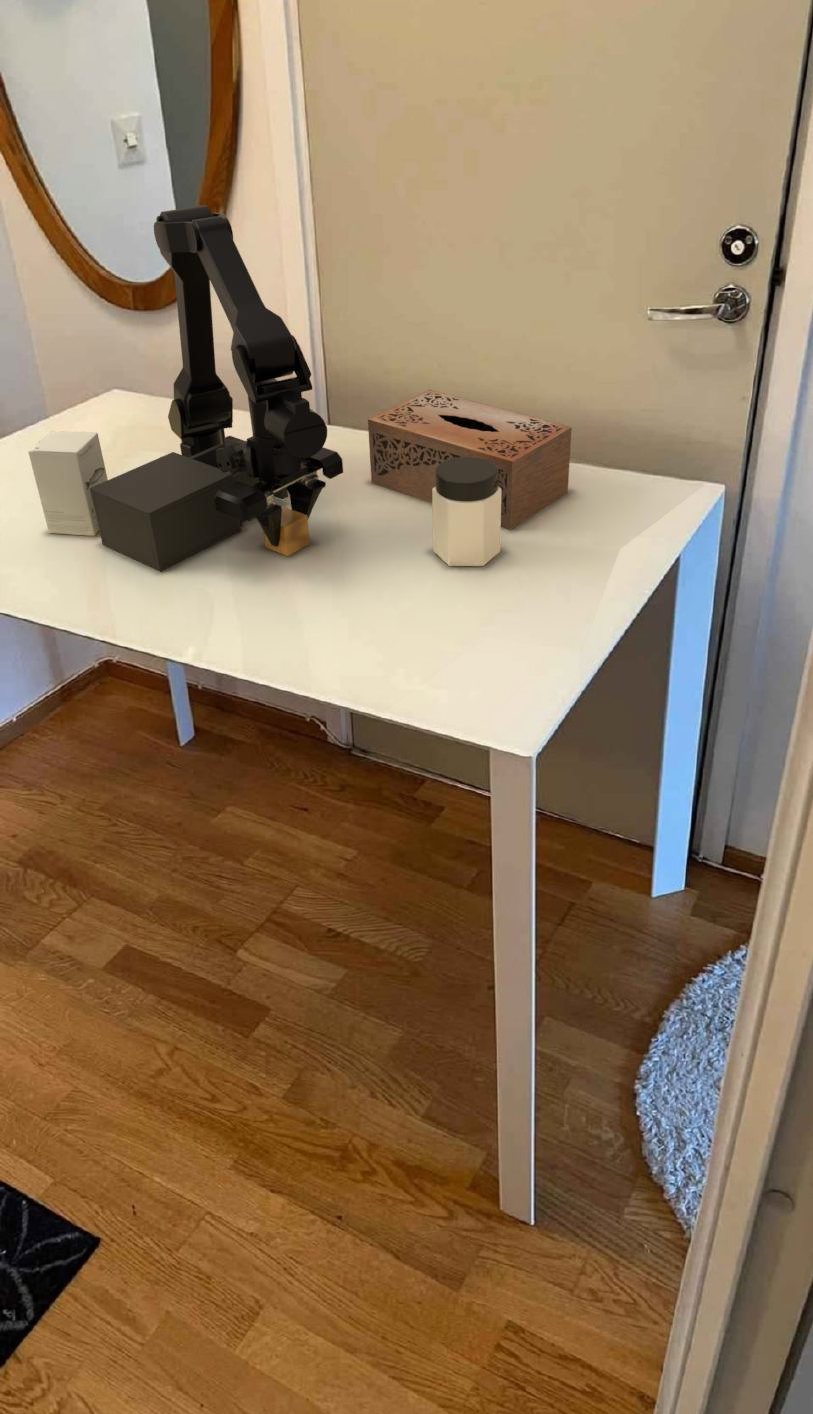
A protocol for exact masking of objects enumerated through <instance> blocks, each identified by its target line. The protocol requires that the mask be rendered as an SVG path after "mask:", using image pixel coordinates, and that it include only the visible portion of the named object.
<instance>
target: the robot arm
mask: <svg viewBox="0 0 813 1414" xmlns="http://www.w3.org/2000/svg"><path fill="white" fill-rule="evenodd" d="M153 235H154V239H155V242H156V245H157V248H158V249H159V252H160V255H161V256H162V258H163V259H164V260H165V261H166V263H167V264H168V266H169V267H170V268H171V270H172V271H173V274H174V284H175V292H176V293H175V295H176V305H177V317H178V327H179V328H178V329H179V339H180V349H181V351H180V352H181V361H182V368H181V370H180V372H179V374H178V376H177V377H176V379H174V382H173V399H172V400H171V403H170V407H169V411H168V415H167V419H168V423H169V427H170V430H171V431H172V432H173V433H174V434H175V435H176V437H178V438H179V439H180V442H181V443H180V444H179V448H180V455H183V456H186V457H188V458H189V457H191V456H193V455H196V454H198V453H200V452H202V451H205V450H207V449H209V448H211V447H214V446H216V445H218V444H224V446H223V447H221V448H219V449H216V460H217V464H218V467H219V469H220V470H221V471H222V472H231V473H232V475H235V474H237V473H239V472H246V471H247V476H248V477H251V478H255V477H257V478H259V481H260V482H258V483H256V484H254V485H253V486H250V485H247V484H244V483H242V482H239V481H236V482H234V483H232V484H230V485H228V486H226V487H224V488H222V489H220V490H218V491H217V492H216V494H215V498H214V499H215V506H216V511H219V512H221V513H224V514H226V515H229V516H231V517H234V518H236V519H239V520H240V521H242V522H249V521H250V522H251V520H254V519H256V521H257V522H258V524H259V525H260V527H261V529H262V531H263V534H264V533H265V534H266V536H267V538H268V540H269V542H270V544H271V545H272V546H275V547H277V546H278V545H279V540H280V530H281V516H282V508H283V506H282V505H280V504H277V503H275V497H274V493H275V492H277V491H279V490H281V489H283V488H285V487H286V489H287V491H288V496H289V501H290V509H292V510H294V511H297V512H300V513H302V514H305V515H307V517H308V520H309V518H310V516H311V514H312V511H313V509H314V506H315V504H316V502H317V500H318V499H319V496H320V494H321V492H322V491H323V489H325V488H326V487H327V482H326V481H324V480H321V479H319V475H318V471H319V470H321V471H322V475H323V476H324V477H326V479H329V480H331V479H334V478H335V477H338V476H340V475H341V474H344V465H343V464H344V463H343V458H342V457H341V455H340V454H339V452H337V451H336V450H332V449H329V448H326V447H324V446H325V444H326V442H327V438H328V426H327V425H326V422H325V420H324V418H323V417H322V416H321V415H319V414H318V413H317V412H316V411H314V410H313V409H311V405H310V401H309V400H308V399H306V398H305V397H303V396H302V394H303V393H304V392H308V391H312V390H313V384H312V381H311V376H312V371H311V370H310V367H309V365H308V363H307V360H306V358H305V355H304V353H303V351H302V349H301V346H300V344H299V342H298V341H297V339H296V337H295V335H293V334H292V333H291V331H290V330H289V328H288V326H287V325H286V323H285V322H284V319H283V318H282V317H281V316H280V315H278V314H276V313H275V312H273V311H272V310H270V309H269V308H267V307H266V305H265V303H264V302H263V300H262V298H261V296H260V293H259V291H258V289H257V286H256V285H255V283H254V281H253V279H252V277H251V275H250V273H249V270H248V268H247V266H246V264H245V261H244V259H243V258H242V255H241V253H240V251H239V249H238V246H237V244H236V243H235V241H234V231H233V228H232V225H231V222H230V220H229V219H228V217H226V213H224V212H223V213H222V212H212V210H211V209H210V208H209V206H208V205H206V204H204V205H196V206H190V207H182V208H178V209H170V210H164V211H161V212H160V214H159V215H158V216H156V221H155V222H154V223H153ZM211 286H212V288H213V290H214V292H215V294H216V296H217V298H218V300H219V303H220V305H221V307H222V309H223V312H224V314H225V316H226V318H227V320H228V322H229V324H230V328H231V330H232V338H231V345H230V352H231V358H232V359H231V360H232V364H233V367H234V369H235V372H236V374H237V375H238V378H239V380H240V382H241V384H242V386H243V388H244V390H245V392H246V394H247V400H248V408H249V418H250V424H251V430H252V431H251V433H252V436H249V437H248V438H246V440H245V441H246V442H245V443H243V444H240V445H238V446H236V447H233V446H232V445H228V446H225V442H224V438H225V437H226V432H225V429H232V428H233V422H234V419H233V418H234V417H233V415H234V414H233V413H234V410H233V408H234V404H233V402H234V399H233V397H232V396H231V393H230V391H229V389H228V387H227V386H226V384H225V383H224V382H223V380H222V379H221V378H220V377H219V375H218V374H217V369H216V357H215V341H214V340H215V339H214V326H213V325H214V324H213V311H212V310H213V308H212V296H211V293H212V292H211ZM293 374H295V376H294V377H289V378H284V379H281V380H278V379H279V378H283V377H287V376H291V375H293Z"/></svg>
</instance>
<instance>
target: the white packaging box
mask: <svg viewBox="0 0 813 1414" xmlns="http://www.w3.org/2000/svg"><path fill="white" fill-rule="evenodd" d="M27 452H28V456H29V461H30V464H31V468H32V472H33V476H34V480H35V484H36V488H37V491H38V495H39V499H40V504H41V507H42V511H43V516H44V519H45V523H46V526H47V529H48V530H47V531H48V533H49V534H59V535H60V534H61V535H73V536H74V535H76V536H89V537H92V536H96V534H97V533H98V532H99V531H100V530H99V526H98V522H97V517H96V513H95V509H94V505H93V500H92V496H91V492H90V488H91V487H94V486H96V485H98V484H101V483H103V482H105V481H107V480H109V479H108V474H107V470H106V469H107V468H106V464H105V461H104V456H103V452H102V447H101V443H100V437H99V433H98V432H94V431H93V432H92V431H69V430H68V431H67V430H51V431H49V432H48V433H47V434H46V435H45V436H44V437H43V438H42V439H41V440H39V441H38V442H37V443H36V444H35V445H34V446H32V447H31V448H30V449H29V450H28V451H27Z"/></svg>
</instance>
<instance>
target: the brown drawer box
mask: <svg viewBox="0 0 813 1414" xmlns="http://www.w3.org/2000/svg"><path fill="white" fill-rule="evenodd" d="M232 483H234V479H233V475H232V473H229V472H222V471H221V470H220V469H218V468H216V467H213V466H210V465H207V464H205V463H202V462H199V461H196V460H194V459H191V458H188V457H186V456H183V455H182V454H181V453H177V452H174V451H172V452H170V453H167V454H165V455H163V456H160V457H158V458H156V459H154V460H151V461H149V462H146V463H144V464H142V465H139V466H137V467H135V468H132V469H131V470H128V471H126V472H123V473H121V474H119V475H117V476H114V477H112V478H110V479H108V480H107V481H105V482H103V483H101V484H98V485H96V486H94V487H91V488H90V492H91V496H92V500H93V505H94V509H95V513H96V517H97V522H98V526H99V530H98V531H99V533H100V538H101V543H102V545H103V546H105V547H107V548H109V549H110V550H113V551H115V552H117V553H119V554H122V555H123V556H125V557H128V558H130V559H132V560H135V561H137V562H139V563H141V564H143V565H146V566H147V567H150V568H152V569H155V570H156V571H159V572H162V571H164V570H166V569H168V568H171V567H172V566H174V565H176V564H178V563H180V562H182V561H184V560H186V559H187V558H189V557H191V556H193V555H195V554H197V553H199V552H201V551H203V550H205V549H206V548H209V547H211V546H213V545H215V544H216V543H219V542H221V541H222V540H225V539H226V538H228V537H230V536H232V535H234V534H236V533H238V532H240V531H241V530H242V528H241V522H240V521H241V520H239V519H236V518H234V517H231V516H229V515H226V514H224V513H221V512H219V511H216V506H215V499H214V498H215V494H216V492H217V491H218V490H220V489H222V488H224V487H226V486H228V485H230V484H232Z"/></svg>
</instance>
